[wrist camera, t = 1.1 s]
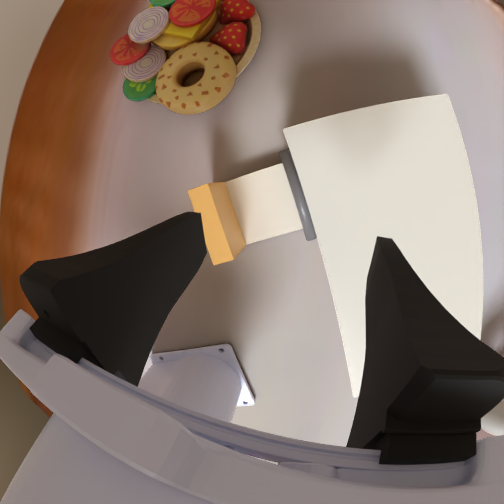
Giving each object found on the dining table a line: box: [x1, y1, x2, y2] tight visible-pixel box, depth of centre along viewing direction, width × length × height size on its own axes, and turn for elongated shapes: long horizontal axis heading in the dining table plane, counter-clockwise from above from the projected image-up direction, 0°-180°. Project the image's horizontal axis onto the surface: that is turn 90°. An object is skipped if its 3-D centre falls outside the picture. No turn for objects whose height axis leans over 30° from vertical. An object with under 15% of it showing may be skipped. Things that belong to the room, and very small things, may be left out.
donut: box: [481, 399, 504, 436], centre depth 17 cm, size 10×3×10 cm, turn 76°
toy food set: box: [110, 0, 261, 114], centre depth 18 cm, size 13×13×3 cm
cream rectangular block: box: [279, 94, 483, 398], centre depth 18 cm, size 12×19×6 cm, turn 18°
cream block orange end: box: [188, 163, 303, 265], centre depth 18 cm, size 15×5×5 cm, turn 108°
